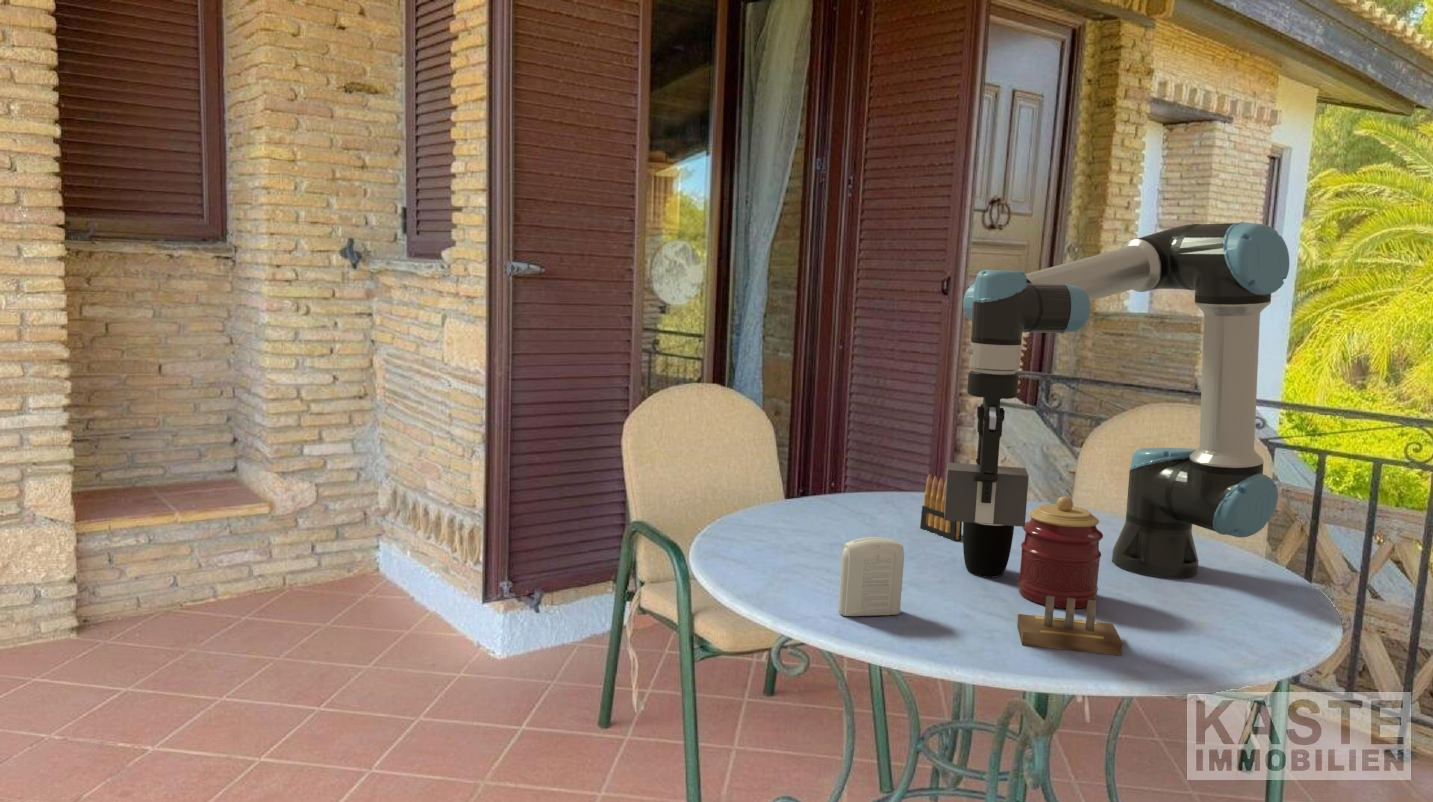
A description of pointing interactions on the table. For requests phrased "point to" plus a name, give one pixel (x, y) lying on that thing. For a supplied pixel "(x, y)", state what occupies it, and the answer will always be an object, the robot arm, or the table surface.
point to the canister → (1060, 555)
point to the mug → (986, 548)
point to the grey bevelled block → (1006, 496)
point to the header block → (1069, 630)
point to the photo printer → (871, 577)
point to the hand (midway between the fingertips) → (982, 516)
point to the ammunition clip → (938, 512)
